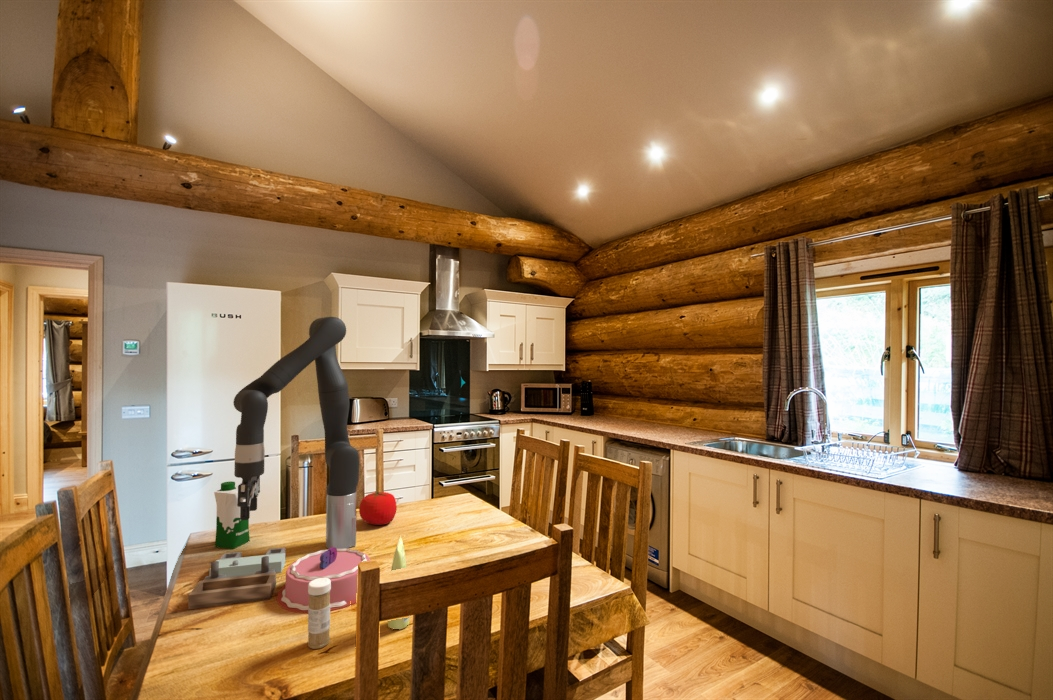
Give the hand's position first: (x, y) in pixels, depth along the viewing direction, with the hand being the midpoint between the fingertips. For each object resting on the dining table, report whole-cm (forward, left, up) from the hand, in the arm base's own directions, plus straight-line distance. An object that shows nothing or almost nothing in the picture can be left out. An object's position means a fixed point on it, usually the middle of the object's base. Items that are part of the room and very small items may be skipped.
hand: (248, 514), depth 140 cm
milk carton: (+10, -23, -16) cm, 30 cm away
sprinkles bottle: (-23, +44, -16) cm, 52 cm away
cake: (-23, +18, -17) cm, 34 cm away
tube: (-40, +41, -16) cm, 59 cm away
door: (0, -2, -16) cm, 16 cm away
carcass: (0, +14, -16) cm, 22 cm away
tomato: (-36, -31, -16) cm, 51 cm away
